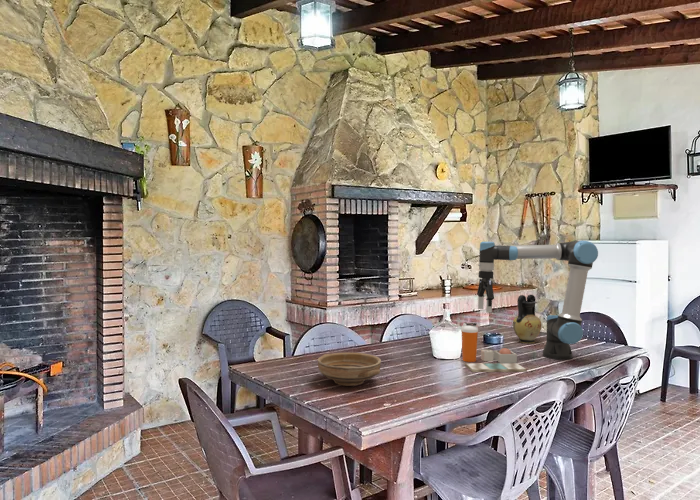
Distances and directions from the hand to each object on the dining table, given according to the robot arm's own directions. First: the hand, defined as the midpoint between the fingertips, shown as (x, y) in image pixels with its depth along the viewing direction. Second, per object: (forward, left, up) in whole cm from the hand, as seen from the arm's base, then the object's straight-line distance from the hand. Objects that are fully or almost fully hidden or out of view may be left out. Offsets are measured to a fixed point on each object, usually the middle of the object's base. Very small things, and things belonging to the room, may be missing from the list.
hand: (484, 310), depth 265 cm
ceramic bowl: (+74, +38, -27) cm, 87 cm away
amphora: (-43, -47, -27) cm, 69 cm away
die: (-2, -1, -27) cm, 27 cm away
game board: (0, +17, -27) cm, 31 cm away
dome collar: (-11, +1, -27) cm, 29 cm away
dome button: (-11, +1, -26) cm, 29 cm away
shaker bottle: (+8, 0, -27) cm, 28 cm away
